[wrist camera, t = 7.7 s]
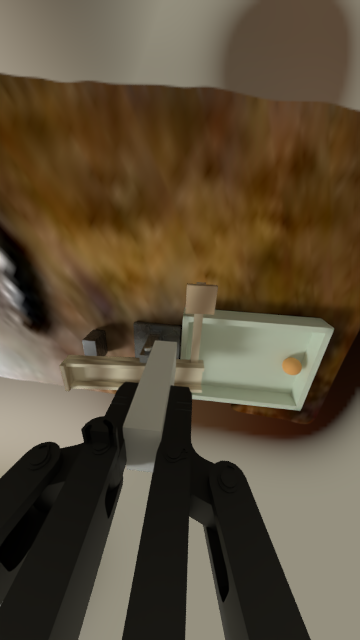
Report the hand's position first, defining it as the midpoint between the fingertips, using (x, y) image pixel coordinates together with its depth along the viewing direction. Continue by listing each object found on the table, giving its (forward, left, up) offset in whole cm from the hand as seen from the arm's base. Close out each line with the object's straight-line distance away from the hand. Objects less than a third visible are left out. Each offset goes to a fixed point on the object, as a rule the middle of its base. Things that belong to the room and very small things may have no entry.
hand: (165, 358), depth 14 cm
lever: (-7, -8, -16) cm, 19 cm away
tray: (+12, -14, -23) cm, 29 cm away
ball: (+20, -14, -21) cm, 32 cm away
